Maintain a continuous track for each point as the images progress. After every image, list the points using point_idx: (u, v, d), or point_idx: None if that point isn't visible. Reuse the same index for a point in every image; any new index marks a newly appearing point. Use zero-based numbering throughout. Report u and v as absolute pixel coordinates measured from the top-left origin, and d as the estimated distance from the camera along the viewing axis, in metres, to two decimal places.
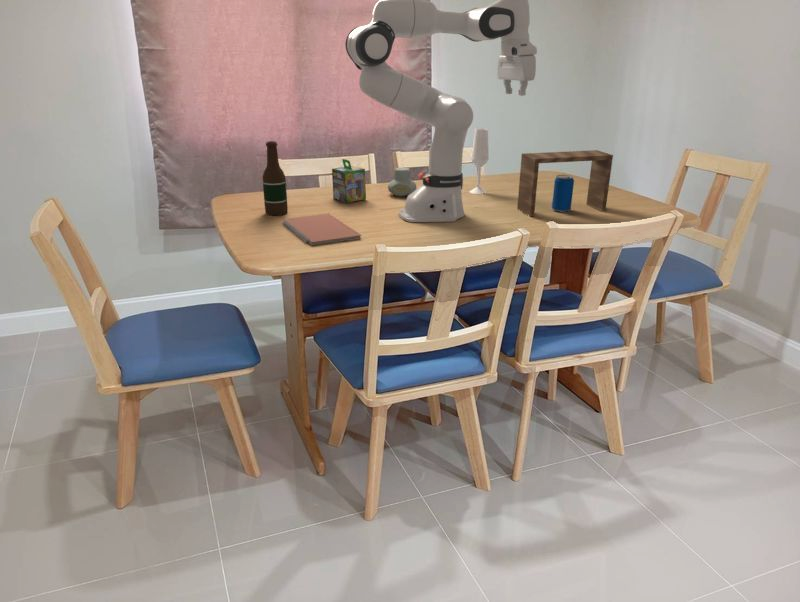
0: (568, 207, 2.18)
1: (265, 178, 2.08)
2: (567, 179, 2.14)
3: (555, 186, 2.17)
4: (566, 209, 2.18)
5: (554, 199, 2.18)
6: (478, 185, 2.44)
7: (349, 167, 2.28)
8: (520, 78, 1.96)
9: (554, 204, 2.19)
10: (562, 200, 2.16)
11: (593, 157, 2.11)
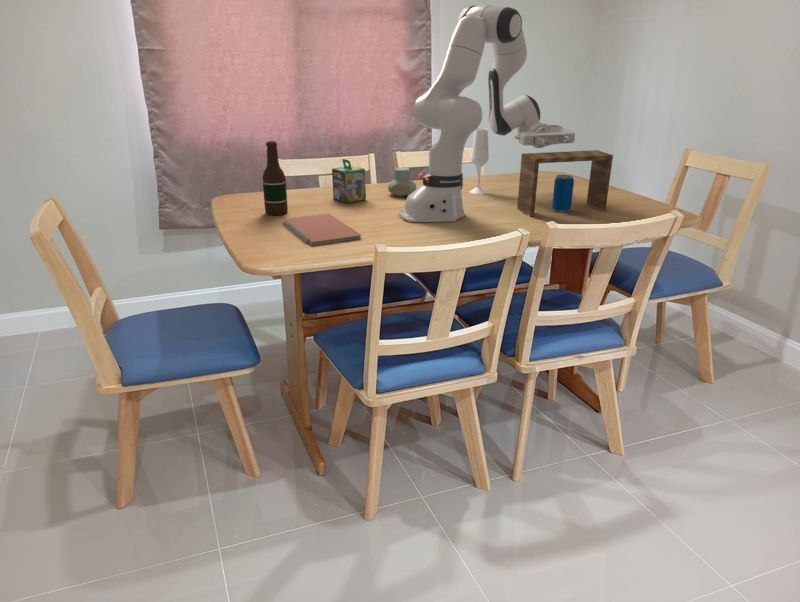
0: (568, 207, 2.18)
1: (265, 178, 2.08)
2: (567, 179, 2.14)
3: (555, 186, 2.17)
4: (566, 209, 2.18)
5: (554, 199, 2.18)
6: (478, 185, 2.44)
7: (349, 167, 2.28)
8: (568, 132, 2.25)
9: (554, 204, 2.19)
10: (562, 200, 2.16)
11: (593, 157, 2.11)
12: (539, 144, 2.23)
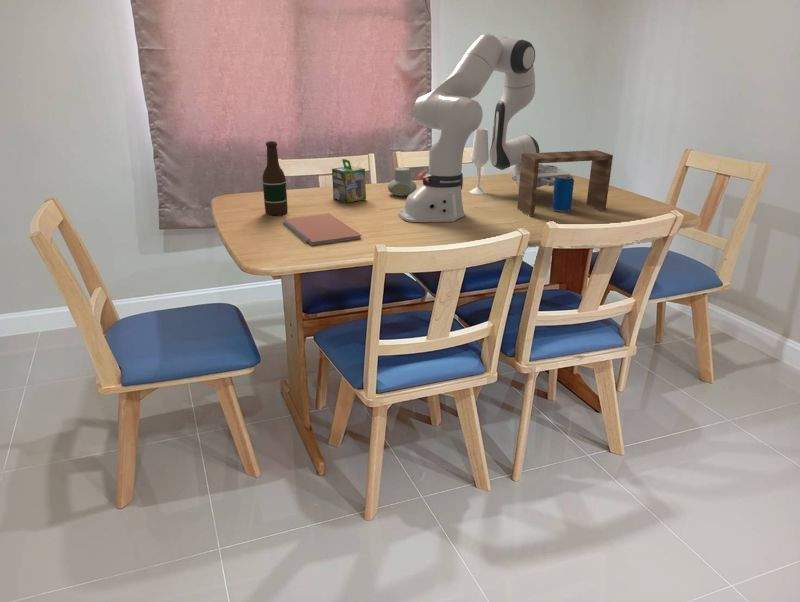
0: (568, 207, 2.18)
1: (265, 178, 2.08)
2: (567, 179, 2.14)
3: (555, 186, 2.17)
4: (566, 209, 2.18)
5: (554, 199, 2.18)
6: (478, 185, 2.44)
7: (349, 167, 2.28)
8: (563, 174, 2.31)
9: (554, 204, 2.19)
10: (562, 200, 2.16)
11: (593, 157, 2.11)
12: None
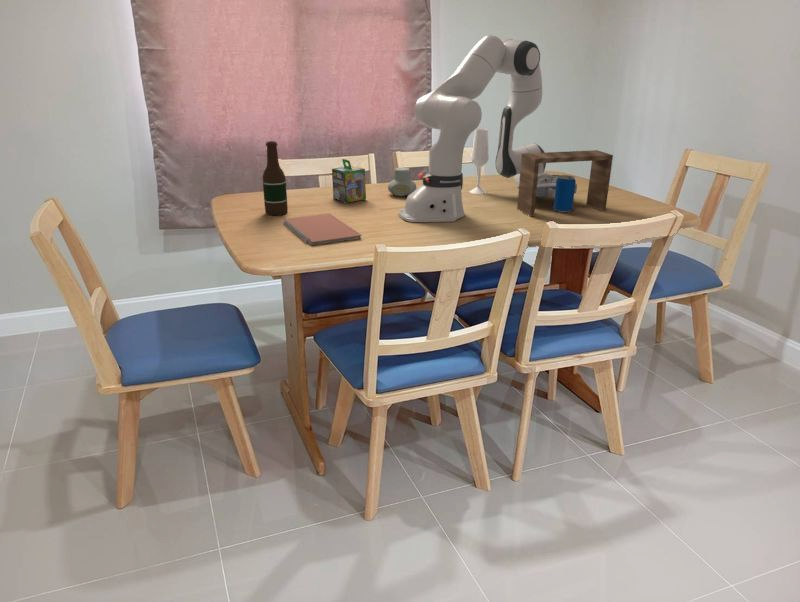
0: (570, 208, 2.17)
1: (265, 178, 2.08)
2: (569, 179, 2.13)
3: (557, 186, 2.16)
4: (568, 210, 2.17)
5: (555, 200, 2.17)
6: (478, 185, 2.44)
7: (349, 167, 2.28)
8: None
9: (555, 205, 2.18)
10: (563, 200, 2.15)
11: (593, 157, 2.11)
12: (542, 195, 2.25)
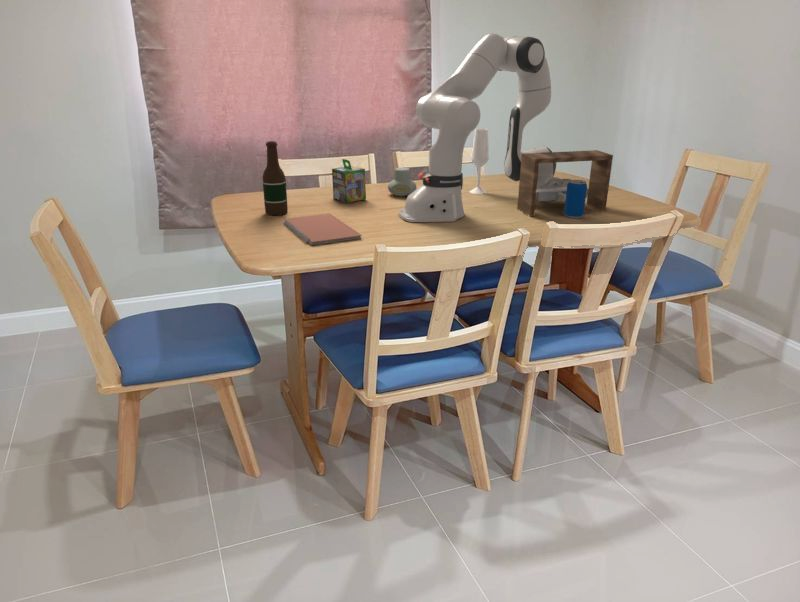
0: (581, 213, 2.10)
1: (265, 178, 2.08)
2: (580, 184, 2.06)
3: (567, 191, 2.09)
4: (579, 215, 2.10)
5: (566, 205, 2.11)
6: (478, 185, 2.44)
7: (349, 167, 2.28)
8: None
9: (566, 210, 2.11)
10: (575, 205, 2.09)
11: (593, 157, 2.11)
12: (552, 200, 2.18)
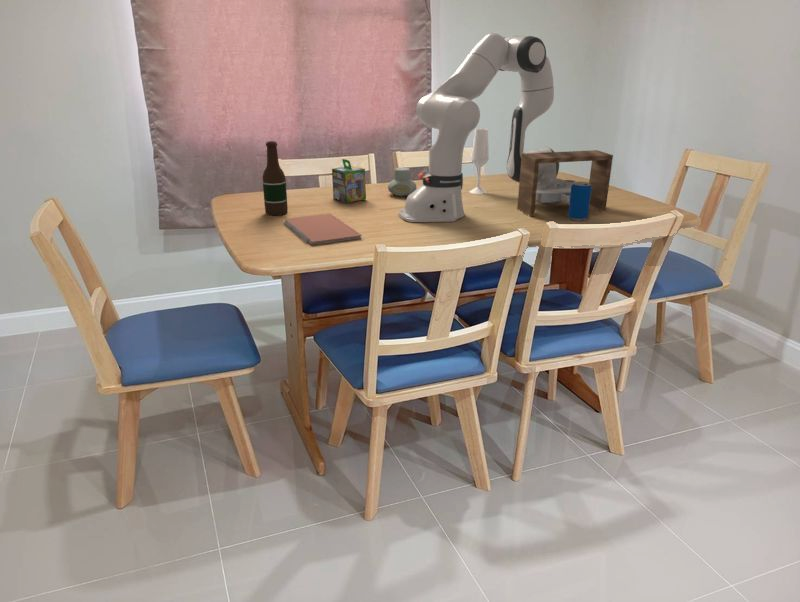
0: (585, 215, 2.08)
1: (265, 178, 2.08)
2: (584, 186, 2.04)
3: (571, 193, 2.07)
4: (583, 217, 2.08)
5: (570, 207, 2.09)
6: (478, 185, 2.44)
7: (349, 167, 2.28)
8: None
9: (570, 212, 2.09)
10: (579, 207, 2.07)
11: (593, 157, 2.11)
12: (554, 201, 2.16)
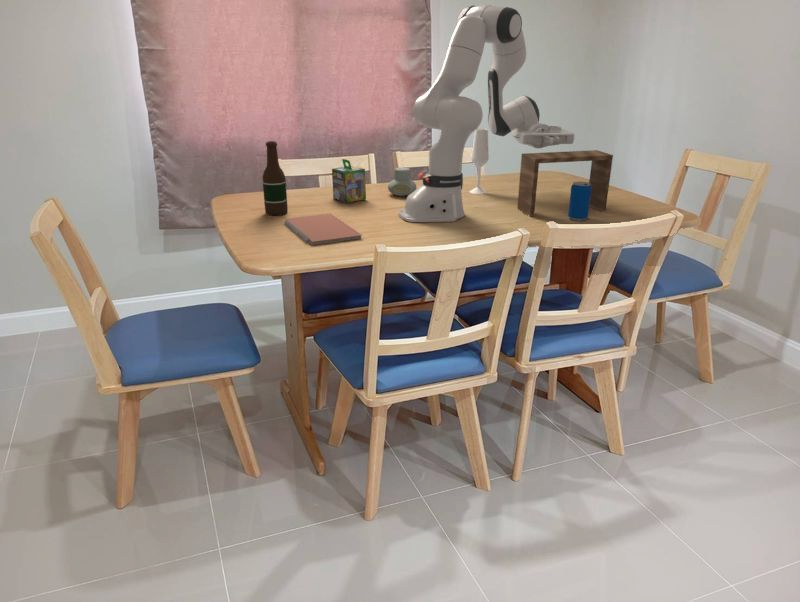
0: (585, 215, 2.08)
1: (265, 178, 2.08)
2: (584, 186, 2.04)
3: (571, 193, 2.07)
4: (583, 217, 2.08)
5: (570, 207, 2.09)
6: (478, 185, 2.44)
7: (349, 167, 2.28)
8: (567, 133, 2.25)
9: (570, 212, 2.09)
10: (579, 207, 2.07)
11: (593, 157, 2.11)
12: (538, 143, 2.23)
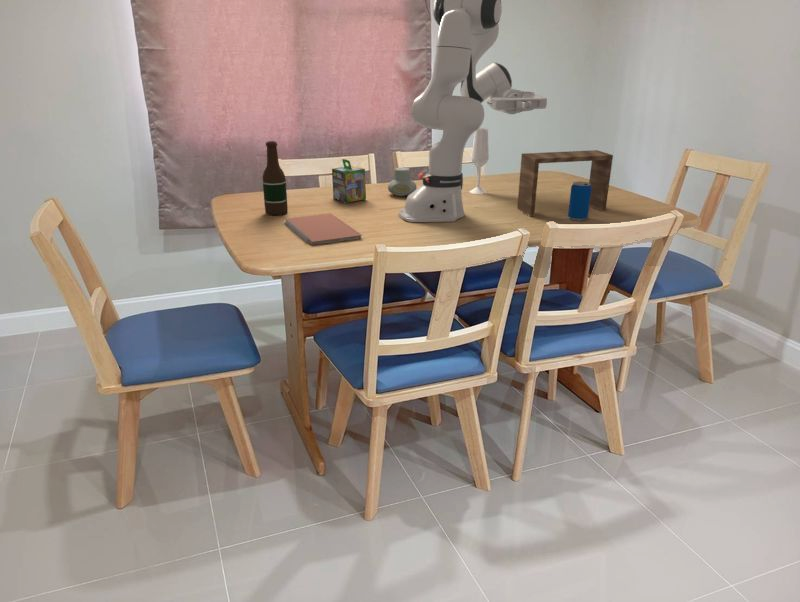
0: (585, 215, 2.08)
1: (265, 178, 2.08)
2: (584, 186, 2.04)
3: (571, 193, 2.07)
4: (583, 217, 2.08)
5: (570, 207, 2.09)
6: (478, 185, 2.44)
7: (349, 167, 2.28)
8: (540, 98, 2.26)
9: (570, 212, 2.09)
10: (579, 207, 2.07)
11: (593, 157, 2.11)
12: (511, 109, 2.24)
